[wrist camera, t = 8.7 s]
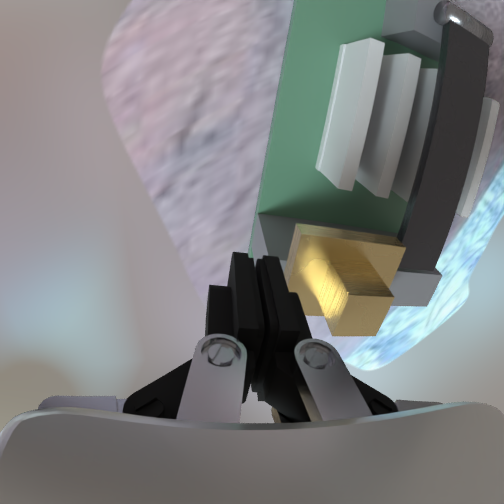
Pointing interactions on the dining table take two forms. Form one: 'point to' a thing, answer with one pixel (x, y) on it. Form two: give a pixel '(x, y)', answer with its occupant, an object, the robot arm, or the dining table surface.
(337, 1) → the board
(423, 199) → the strap
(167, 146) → the dining table surface
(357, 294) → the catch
